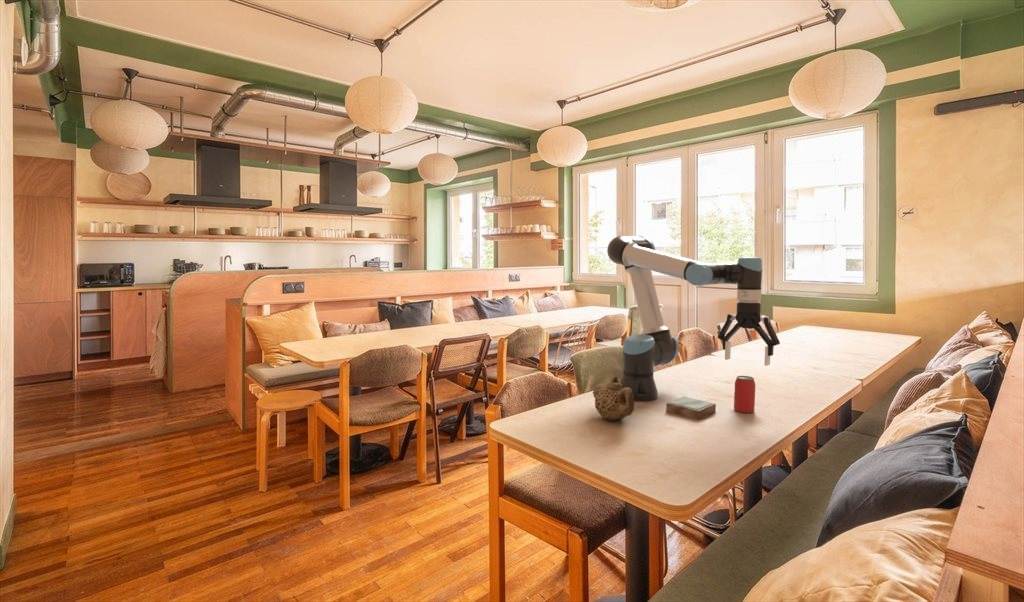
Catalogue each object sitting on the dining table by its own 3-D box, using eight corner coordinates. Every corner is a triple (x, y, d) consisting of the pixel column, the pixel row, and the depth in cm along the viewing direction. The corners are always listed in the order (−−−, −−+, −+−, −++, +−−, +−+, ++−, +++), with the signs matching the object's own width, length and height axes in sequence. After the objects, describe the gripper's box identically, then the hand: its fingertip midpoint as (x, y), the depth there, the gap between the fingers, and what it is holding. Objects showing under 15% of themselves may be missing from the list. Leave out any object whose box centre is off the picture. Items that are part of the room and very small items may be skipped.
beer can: (756, 414, 171) (758, 380, 170) (736, 413, 172) (737, 379, 171) (751, 408, 177) (752, 375, 176) (731, 407, 178) (733, 374, 177)
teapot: (582, 412, 173) (582, 370, 171) (609, 408, 177) (610, 367, 176) (618, 433, 153) (618, 385, 152) (648, 427, 158) (649, 381, 156)
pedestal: (666, 411, 174) (666, 402, 174) (683, 404, 182) (684, 395, 182) (698, 419, 165) (698, 410, 165) (715, 412, 173) (715, 403, 173)
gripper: (708, 300, 178) (707, 358, 179) (783, 304, 159) (780, 369, 161) (718, 299, 183) (717, 355, 184) (791, 303, 164) (789, 365, 166)
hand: (746, 362), depth 173 cm, fingers open, 13 cm apart
